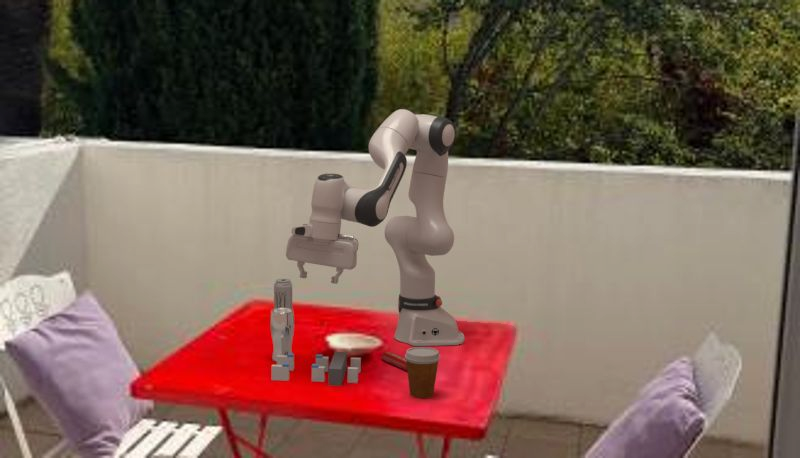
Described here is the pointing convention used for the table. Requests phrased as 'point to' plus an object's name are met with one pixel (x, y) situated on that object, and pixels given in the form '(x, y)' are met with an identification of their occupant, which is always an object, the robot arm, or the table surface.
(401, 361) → the candy bar
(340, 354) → the tall grey pillar
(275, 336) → the beer glass
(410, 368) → the disposable coffee cup
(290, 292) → the energy drink can
